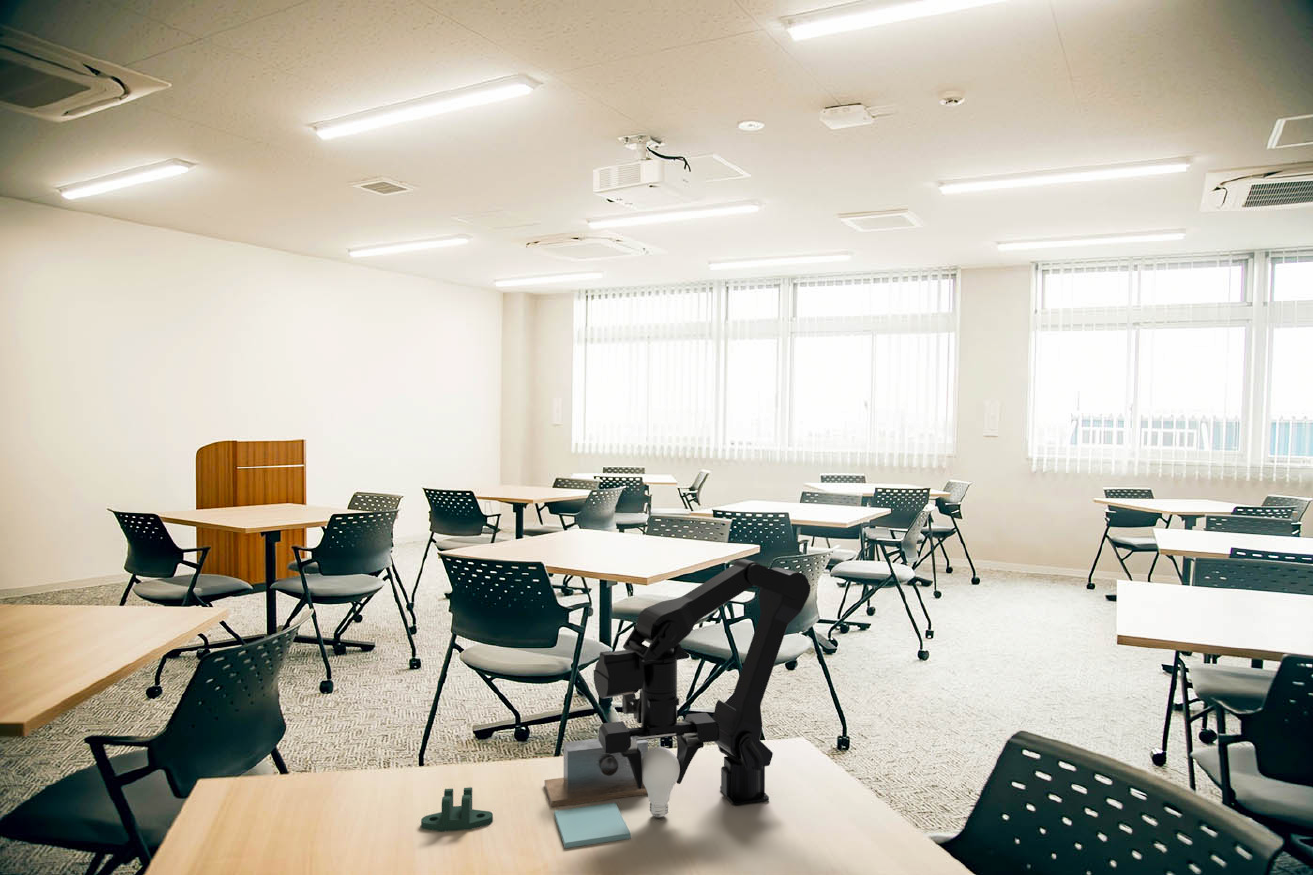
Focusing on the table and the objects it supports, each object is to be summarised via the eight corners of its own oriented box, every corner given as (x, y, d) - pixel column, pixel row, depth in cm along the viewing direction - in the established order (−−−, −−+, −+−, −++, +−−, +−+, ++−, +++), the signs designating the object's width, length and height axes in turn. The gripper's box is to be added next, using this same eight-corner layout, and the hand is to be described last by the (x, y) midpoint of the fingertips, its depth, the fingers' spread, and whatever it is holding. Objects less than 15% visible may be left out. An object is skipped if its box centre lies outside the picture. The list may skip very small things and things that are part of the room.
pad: (615, 807, 126) (615, 802, 126) (630, 838, 116) (630, 832, 116) (554, 815, 123) (554, 810, 123) (564, 848, 113) (564, 842, 113)
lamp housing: (654, 771, 139) (654, 727, 139) (667, 791, 131) (667, 744, 131) (544, 785, 133) (544, 739, 133) (551, 807, 126) (551, 758, 126)
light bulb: (675, 829, 119) (676, 758, 119) (633, 825, 120) (634, 754, 120) (682, 809, 125) (683, 741, 125) (643, 805, 127) (643, 738, 126)
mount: (493, 815, 123) (493, 784, 123) (491, 829, 119) (491, 797, 119) (423, 820, 122) (423, 788, 122) (418, 834, 118) (418, 802, 118)
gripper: (697, 668, 133) (697, 758, 133) (591, 677, 128) (591, 771, 128) (720, 688, 122) (720, 786, 122) (606, 700, 117) (606, 802, 117)
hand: (658, 785), depth 123 cm, fingers closed on light bulb, 6 cm apart
